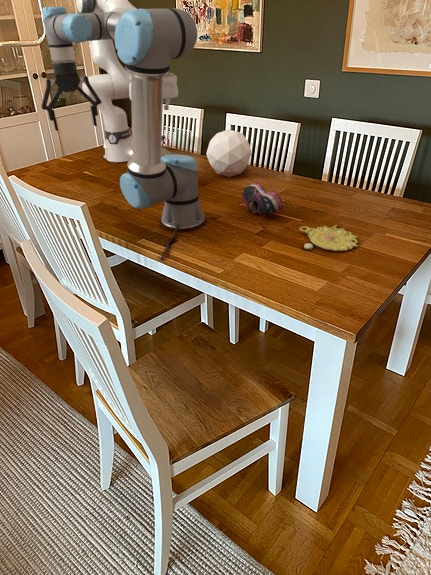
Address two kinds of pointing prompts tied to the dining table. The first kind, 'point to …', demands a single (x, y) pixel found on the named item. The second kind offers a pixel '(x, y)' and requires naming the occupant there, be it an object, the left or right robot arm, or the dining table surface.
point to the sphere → (229, 153)
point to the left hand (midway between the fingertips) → (155, 111)
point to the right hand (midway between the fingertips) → (76, 127)
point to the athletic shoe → (261, 200)
